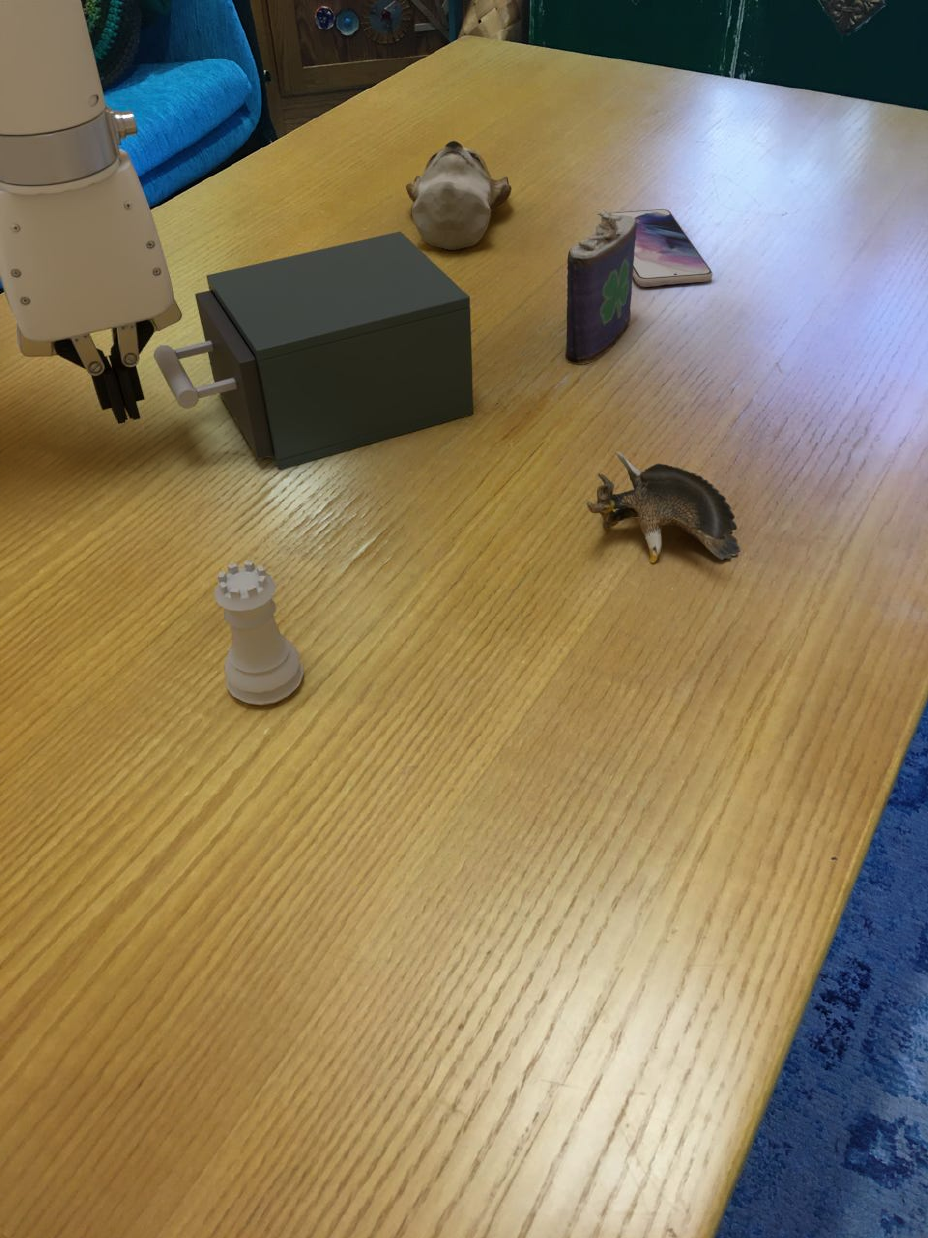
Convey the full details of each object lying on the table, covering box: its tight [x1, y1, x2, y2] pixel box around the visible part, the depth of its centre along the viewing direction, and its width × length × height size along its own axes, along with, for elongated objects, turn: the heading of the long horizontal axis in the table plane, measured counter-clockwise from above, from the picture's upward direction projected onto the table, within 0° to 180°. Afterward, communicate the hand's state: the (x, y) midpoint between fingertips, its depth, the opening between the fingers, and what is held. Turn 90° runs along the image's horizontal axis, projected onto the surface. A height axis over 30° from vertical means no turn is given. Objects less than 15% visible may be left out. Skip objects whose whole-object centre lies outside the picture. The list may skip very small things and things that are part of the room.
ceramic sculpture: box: [405, 140, 513, 251], centre depth 103 cm, size 11×9×15 cm
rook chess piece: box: [213, 560, 304, 707], centre depth 59 cm, size 4×4×8 cm
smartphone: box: [600, 208, 714, 288], centre depth 100 cm, size 7×1×15 cm
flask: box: [565, 210, 637, 365], centre depth 85 cm, size 9×3×11 cm, turn 148°
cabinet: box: [205, 231, 474, 471], centre depth 80 cm, size 16×13×10 cm
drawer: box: [153, 290, 274, 460], centre depth 79 cm, size 19×11×8 cm, turn 115°
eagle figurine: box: [586, 451, 741, 564], centre depth 67 cm, size 8×7×9 cm
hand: (125, 411), depth 76 cm, fingers closed
